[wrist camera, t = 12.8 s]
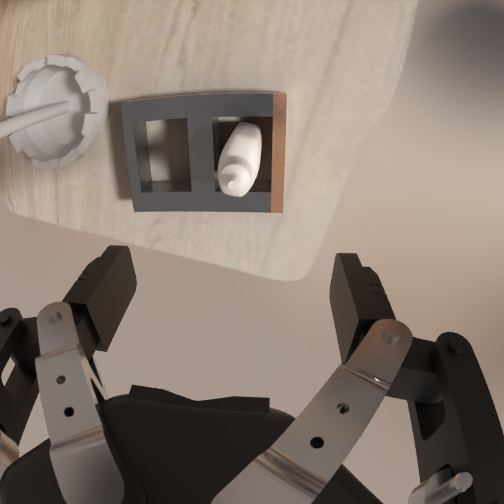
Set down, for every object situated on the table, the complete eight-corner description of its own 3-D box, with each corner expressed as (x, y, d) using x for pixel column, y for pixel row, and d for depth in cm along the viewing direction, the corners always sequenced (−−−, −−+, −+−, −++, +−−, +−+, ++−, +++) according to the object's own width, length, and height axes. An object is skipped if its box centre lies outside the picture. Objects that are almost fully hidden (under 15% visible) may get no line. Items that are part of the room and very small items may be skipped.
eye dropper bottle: (212, 152, 33) (185, 193, 23) (247, 114, 31) (235, 136, 20) (242, 178, 34) (230, 229, 24) (278, 141, 32) (282, 177, 22)
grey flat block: (134, 99, 30) (120, 102, 27) (284, 92, 29) (286, 94, 26) (144, 199, 36) (134, 211, 33) (281, 199, 35) (282, 212, 32)
